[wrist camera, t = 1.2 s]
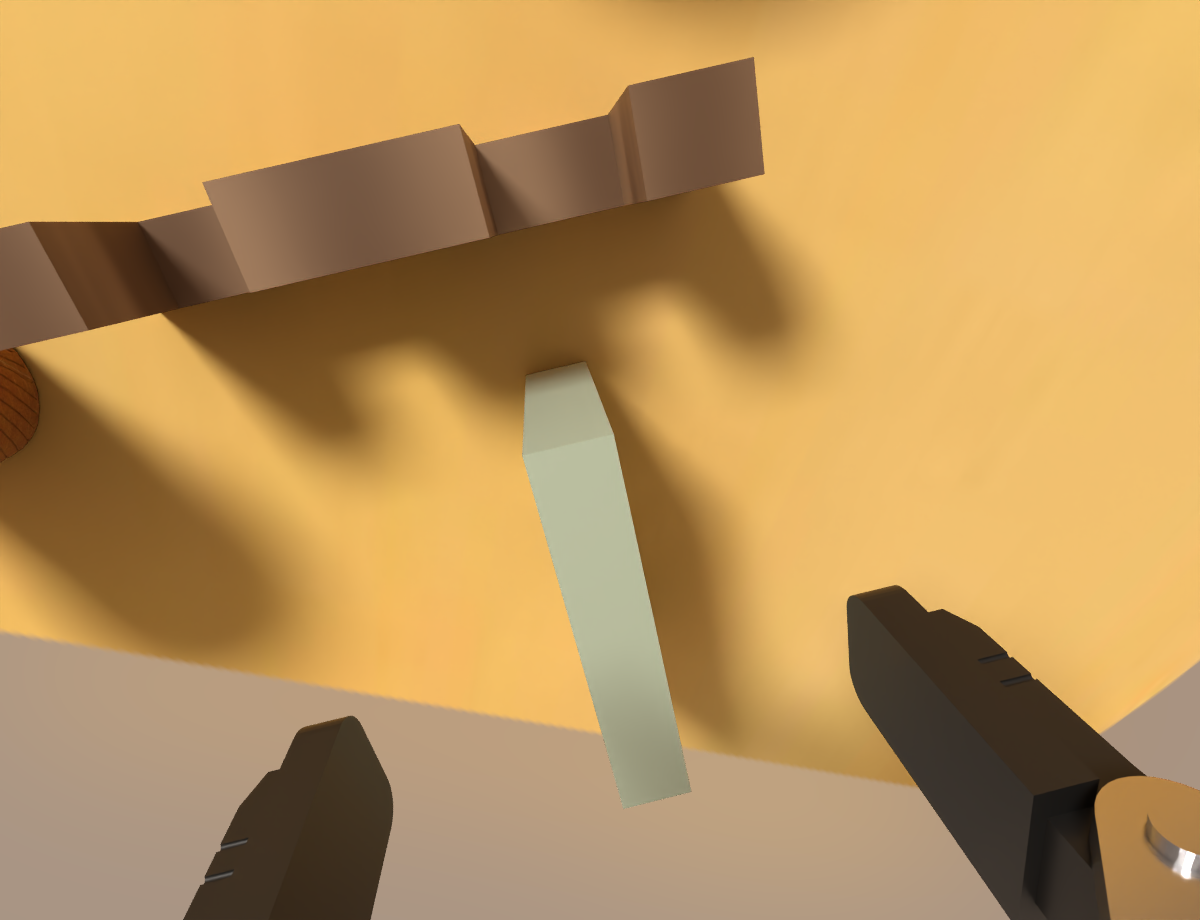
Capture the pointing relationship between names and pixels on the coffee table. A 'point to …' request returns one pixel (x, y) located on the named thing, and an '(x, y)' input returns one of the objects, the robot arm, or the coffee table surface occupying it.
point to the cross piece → (602, 579)
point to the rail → (379, 206)
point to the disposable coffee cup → (16, 404)
